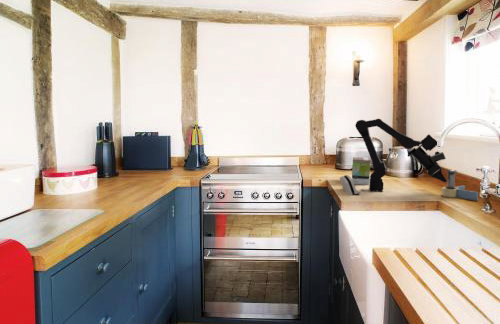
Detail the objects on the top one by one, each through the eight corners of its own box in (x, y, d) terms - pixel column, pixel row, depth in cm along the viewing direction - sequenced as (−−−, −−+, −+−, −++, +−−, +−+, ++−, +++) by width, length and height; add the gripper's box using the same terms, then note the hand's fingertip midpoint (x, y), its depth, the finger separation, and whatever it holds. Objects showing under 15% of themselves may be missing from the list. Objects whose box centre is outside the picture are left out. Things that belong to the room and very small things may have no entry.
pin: (448, 196, 184) (450, 170, 182) (443, 195, 188) (445, 169, 187) (456, 196, 185) (458, 170, 183) (451, 194, 189) (452, 169, 187)
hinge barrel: (448, 199, 178) (448, 191, 177) (437, 191, 196) (437, 184, 196) (478, 200, 175) (478, 192, 175) (464, 193, 194) (464, 185, 193)
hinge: (360, 195, 188) (354, 176, 186) (351, 198, 188) (345, 179, 187) (352, 188, 204) (346, 171, 203) (344, 191, 204) (338, 174, 203)
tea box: (369, 185, 216) (370, 159, 214) (351, 184, 218) (352, 159, 216) (368, 180, 230) (369, 157, 228) (351, 180, 233) (352, 156, 231)
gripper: (437, 148, 178) (461, 172, 175) (434, 145, 195) (456, 167, 192) (418, 163, 182) (441, 187, 179) (416, 159, 199) (438, 181, 196)
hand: (445, 180), depth 186 cm, fingers open, 9 cm apart
